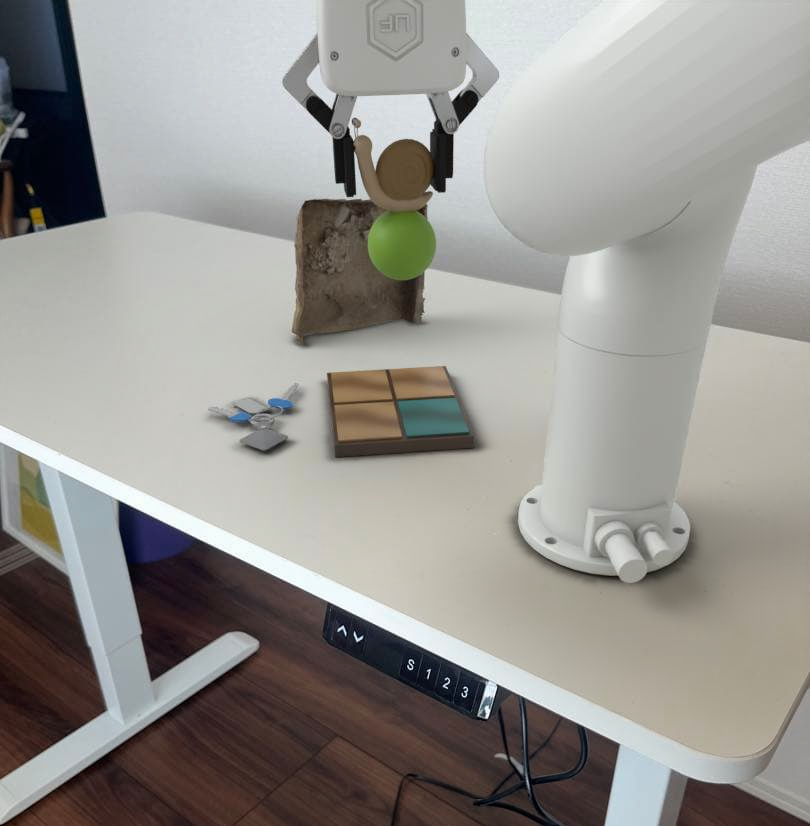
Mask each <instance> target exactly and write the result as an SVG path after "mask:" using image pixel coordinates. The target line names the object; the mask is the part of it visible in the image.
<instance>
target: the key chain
mask: <svg viewBox="0 0 810 826" xmlns="http://www.w3.org/2000/svg"><path fill="white" fill-rule="evenodd" d="M298 387H299V383H297V382H294V383H293V384H292V385H291V386H290V387H289V388H288V390H287V391H286V392H285V393H284V394H283V396H282V397H281V398H278V397H273V398H269V399H268V400H267V404H268V406H265V405H263V404H261V403H259V402H257V401H255V400H253V399H252V398H245V399H240V400H235V401H231V402H230V404H232V405H234V406H236V407H238V408H240V409H241V410H243V411H232V410H229V409H227V408H225V409H224V408H220V407H219V406H208V408H207V411H209V412H212V413H213V412H214V413H216V414H220V415H223V416H226V417H228V420H229V421H232V422H236V423H243V422H250V424H251V425H253V426H254V427H257V428H256V429H257V430H255V431H253V432H252V433H250V434H248V435H246V436H244V437H242V438H240V439H239V443H241V444H244V445H246V446H249V447H251V448H255V449H257V450H259V451H263V452H264V451H268V450H269V449H271V448H273V447H275V446H277V445H278V444H280V443H282V442H284V441H286V440H288V439H289V435H287V434H284V433H281V432H278V431H277V430H273V429H270V425H273V423H274V422H275V420H276V419H275V418H276V417H277V416H280V415H281V414H282V413H283V411H284V410H288V409H292V408H293V405H294V403H293V402H292V401H291V400H289V399H290V398H291V396H292V395H293V394H294V393H295V391H296V389H297V388H298ZM271 408H274V409H277V410H280V412H278V413H276V414H275V415H272V414H269V413H262V412H266V411H269V409H271ZM251 414H255V415H253V416H252V417H251ZM269 419H270V420H269ZM255 420H267V421H258V422H256V421H255Z"/></svg>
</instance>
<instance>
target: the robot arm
mask: <svg viewBox="0 0 810 826" xmlns="http://www.w3.org/2000/svg"><path fill="white" fill-rule="evenodd" d="M315 12H316V14H315V15H316V33H315V34H314V35H313V37H312V38H311V40H310V41H309V42H308V43H307V45H306V46H305V47H304V49H303V50H302V51H301V53H300V54H299V55H298V56H297V58H296V59H295V60H294V62H292V64H291V66H290V67H289V68H288V69H287V71H286V72H285V73H284V75H283V76H282V79H281V83H282V86H283V88H284V89H285V90H286V91H287V92H288V93H289V94H290V95H291V96H292V98H294V100H296V101H297V102H298V103H299V104H300V105H301V106H302V107H303V108H304V109H305V110H306V111H307V112H308V114H309V115H311V117H312V118H313V119H314V120H315V121H317V123H319V125H321V126H322V127H323V129H324V130H325V131H326V132H328V133H329V134H330V136H331V137H332V139H331V140H332V151H333V168H334V169H333V170H334V181H335V184H336V185H337V184H339V185H340V184H343V190H344V193H345V196H346V198H354V197H355V196H357V183H356V182H357V181H356V180H357V179H356V161H355V160H356V159H355V152H354V145H353V142H354V138H353V136H352V135H351V130H350V127H349V124H350V120H351V119H352V118H351V117H352V114H353V112H354V108H355V105H356V102H357V98H358V97H374V96H405V95H426V97H427V101H428V103H429V106H430V109H431V111H432V113H433V116H434V119H435V121H434V122H433V128H432V131H430V132H429V151H430V153H431V155H432V158H433V161H434V177H433V180H432V182H431V184H430V186H431V187H432V188H433V189H434V191H435V192H437V193H439V194H443V193H446V191H447V179H453V177H454V148H455V147H454V145H455V143H454V141H455V140H454V139H455V138H454V137H455V135H454V134H455V133H457V132H458V130H459V128H460V126H461V125H462V123H463V122H464V121H465V120H466V119H467V118H468V117H469V115H471V113H472V112H473V110H474V109H475V108H476V107H477V106H478V104H479V102H480V101H481V99H483V98H484V97H485V96H486V94H488V92H490V90H491V89H492V88H493V87H494V85H495V84H496V83H497V82H498V80H499V79H500V71H499V69H498V68H497V67H496V66H495V65H494V63H493V62H492V61H491V60H490V59H489V57H488V56H487V55H486V54H485V53H484V52H483V50H482V49H481V48H480V47H479V46H478V45H477V43H476V42H475V41H474V39H472V37H471V36H470V35H469V33H467V12H466V0H315ZM318 65H319V71H320V76H321V80H322V83H323V84H324V85H325V87H326V88H327V89H328V90H329V91H330V92H332V93H335V96H334V99H333V102H332V106H331V107H330V106H329V105H328V104H327V103H326V102H325V101H324V100H323V99H322V98H321V97H320V96H319V95H318V94H317V93H316V92H315V91H314V90H313V89H312V88H311V87H310V86H309V85H308V78H309V76H310V75H311V74H312V72H313V71H315V69H316V67H317V66H318ZM467 66H468V69H470V70H471V72H472V77H471V79H470V80H469V82H468V84H467V85H466V86H465V87H464V88H462V90H460V91H459V93H458V94H457V95H456V96H455V97H454V98H453V100H452V99H451V96H450V94H449V92H452V91H453V90H456V89H457V88H459V87H461V85H463V83H464V81H465V78H466V74H467ZM488 129H489V130H488V133H487V137H486V142H485V147H484V154H483V179H484V185H485V190H486V194H487V198H488V201H489V204H490V206H491V208H492V210H493V212H494V215H495V216H496V217H497V219H498V220H499V222H500V223H501V224H502V225H503V227H504V228H505V229H506V230H507V231H508V232H509V233H510V234H511V235H512V236H513V237H514V238H515V239H517V240H518V241H519V242H521V243H522V244H524V245H525V246H527V247H529V248H531V249H533V250H536V251H538V252H541V253H544V254H548V255H553V256H560V257H569V259H568V261H567V262H568V263H567V265H566V270H565V272H564V273H565V274H564V278H563V283H562V284H563V285H562V288H561V293H560V301H559V308H558V309H559V310H558V319H557V327H556V337H555V348H554V356H553V357H554V358H553V368H552V378H551V389H550V400H549V409H548V419H547V420H548V421H547V431H546V440H545V449H544V450H545V452H544V460H543V472H542V473H543V474H542V482H541V483H540V484H538V485H536V486H534V487H533V488H532V489H530V490H529V491H528V492H527V493H526V494H525V495H524V496H523V498H522V499H521V501H520V504H519V508H518V515H517V516H518V517H517V524H518V528H519V532H520V534H521V535H522V537H523V539H524V540H525V542H526V543H527V544H528V545H529V546H530V547H531V548H532V549H533V550H535V551H536V552H537V553H539V554H540V555H541V556H543V557H545V558H546V559H548V560H549V561H552V562H554V563H556V564H558V565H560V566H563V567H566V568H568V569H571V570H574V571H578V572H583V573H587V574H591V575H598V576H599V575H600V576H611V577H612V576H614V577H615V576H618V577H619V579H620V581H622V582H624V583H626V584H634V583H637V582H640V581H641V580H642V579H643V578H645V577H646V575H647V573H651V572H654V571H657V570H660V569H662V568H665V567H666V566H669V565H671V564H672V563H674V562H675V561H676V560H678V559H679V558H680V557H681V555H682V554H683V553H684V552H685V551H686V549H687V546H688V543H689V540H690V533H691V524H690V519H689V517H688V516H687V513H686V511H685V510H684V509H683V508H682V507H681V506H680V505H679V504H678V502H676V500H675V497H676V493H677V488H678V484H679V479H680V478H679V477H680V473H681V470H682V469H681V468H682V464H683V459H684V454H685V449H686V445H687V441H688V440H687V439H688V435H689V429H690V425H691V420H692V415H693V409H694V405H695V401H696V397H697V391H698V385H699V382H700V377H701V371H702V367H703V362H704V358H705V357H704V356H705V352H706V347H707V342H708V338H709V336H710V332H711V331H710V330H711V326H712V321H713V316H714V313H715V307H716V303H717V297H718V294H719V290H720V285H721V282H722V277H723V274H724V271H725V266H726V262H727V258H728V256H729V252H730V249H731V245H732V242H733V239H734V237H735V234H736V230H737V227H738V225H739V222H740V219H741V216H742V213H743V211H744V208H745V205H746V203H747V200H748V197H749V194H750V191H751V188H752V185H753V182H754V179H755V176H756V174H757V173H756V172H757V169H758V166H759V165H761V164H763V163H765V162H766V161H769V160H770V159H772V158H774V157H776V156H778V155H780V154H782V153H785V152H787V151H789V150H790V149H793V148H796V147H797V146H800V145H802V144H804V143H807V142H810V0H603V1H601V2H600V3H599V4H598V5H597V6H596V7H594V8H593V9H592V10H591V11H589V13H587V14H586V15H585V16H584V17H583V18H581V19H580V20H579V21H578V22H577V23H576V24H575V25H573V26H572V27H571V28H570V29H569V30H567V31H566V32H565V33H564V34H562V36H560V37H559V38H557V40H556V41H554V42H553V43H552V44H551V45H550V46H548V47H547V48H546V50H544V51H543V52H542V53H541V54H539V55H538V56H537V57H536V58H535V59H534V60H533V61H532V62H531V63H530V64H529V65H528V66H527V67H526V68H525V69H524V70H523V71H522V73H521V74H519V76H518V77H516V78H515V81H514V82H513V83H512V84H511V86H510V87H509V88H508V90H507V91H506V93H505V95H504V96H503V97H502V99H501V101H500V102H499V105H498V106H497V109H496V111H495V114H494V115H493V118H492V120H491V123H490V126H489V128H488Z"/></svg>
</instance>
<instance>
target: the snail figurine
mask: <svg viewBox="0 0 810 826" xmlns="http://www.w3.org/2000/svg"><path fill="white" fill-rule="evenodd" d="M351 125H352V126H353V131H354V138H355V139H353V141H354V142H353V145H354V155H355V156H356V159H357V165H358V166H357V167H358V170H359V173H360V178H361V181H362V182H361V183H362V185H363V188H364V190H365V193H366V194H367V196H368V198H369V199H371V201H372V202H373V203H374V204H375V205H377V206H378V207H380V208H382V209H385V210H387V211H386V212H385V213H383V214H382V215H381V216H379V217H378V218H377V220H376V221H375V222H374V224H373V225H372V227H371V230H370V232H369V236H368V252H369V255H370V258H371V261H372V262H373V264H374V266H375V267H376V268H377V269H378V270H379V271H380V272H381V273H382V274H383V275H385V276H387V277H389V278H391V279H395V280H409V279H413V278H415V277H417V276H419V275H421V274H422V273H423V272H424V271H426V270H427V269H428V268H429V267H430V266H431V264H432V262H433V261H434V257H435V254H436V250H437V238H436V233H435V231H434V228H433V226H432V224H431V222H430V221H429V220H427V219H426V218H425V217H424V216H423V215H422V214H421V213H419V212H417V211H416V210H419V209H421V208H422V207H423V206H424V205H425V204H426V203H427V204H428V202H429V201H430V200H431V199H432V197H433V196H434V192H433V191H431V190H429V188H430V186H431V182H432V180H433V177H434V161H433V158H432V155H431V153H430V149H429V148H428V147H427V146H426V145H424V143H422V142H421V141H419V140H415V139H413V138H402V139H398V140H395V141H393V142H391V143H390V144H389V145H387V146H386V147H385V148H384V149H383V151H382V152H381V153H380V154H379V157H378V159H377V162H376V165H374V161H373V157H372V151H373V142H372V139H370V137H369V136H367V135H365V134H359V128H361V126H362V121H361V120H360V119H358V118H357V117H352V118H351ZM427 190H428V191H427Z"/></svg>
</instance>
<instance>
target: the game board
mask: <svg viewBox="0 0 810 826" xmlns="http://www.w3.org/2000/svg"><path fill="white" fill-rule="evenodd" d="M326 379H327V380H326V381H327V391H328V401H329V410H330V419H331V420H330V421H331V430H332V431H331V432H332V439H333V449H334V457H335V458H342V457H343V458H344V457H357V456H359V457H360V456H373V455H374V456H375V455H388V454H389V455H391V454H402V453H418V452H419V453H420V452H430V451H431V452H435V451H446V450H448V451H449V450H463V449H474V448H475V441H476V439H475V438H476V437H475V436H476V435H475V433H474V431H473V429H472V426H471V424H470V422H469V419H468V416H467V415H466V414H467V413H466V412H465V409H464V407H463V405H462V402H461V400H460V397H459V395H458V392H457V390H456V388H455V384H454V383H453V379H452V378H451V376H450V373H449V370H448V368H447V365H437V366H436V365H435V366H420V367H419V366H417V367H404V368H403V367H402V368H386V369H385V368H383V369H369V370H368V369H367V370H353V371H352V370H350V371H349V370H348V371H334V372H333V371H332V372H326Z"/></svg>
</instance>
